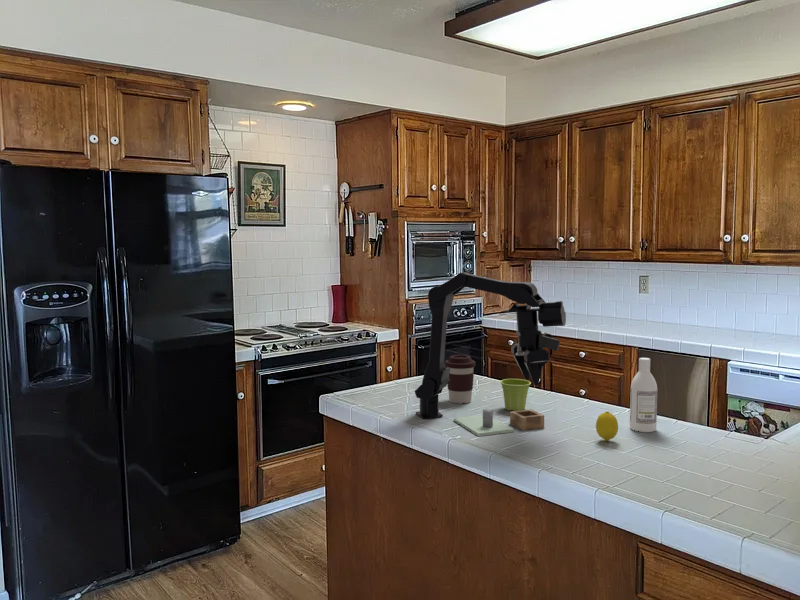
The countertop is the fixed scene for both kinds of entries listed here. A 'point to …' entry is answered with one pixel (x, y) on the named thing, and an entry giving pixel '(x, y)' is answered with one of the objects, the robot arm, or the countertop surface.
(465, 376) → the coffee cup
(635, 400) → the bath foam
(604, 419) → the lemon
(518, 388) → the plant pot
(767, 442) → the countertop surface
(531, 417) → the link
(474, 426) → the keeper board
